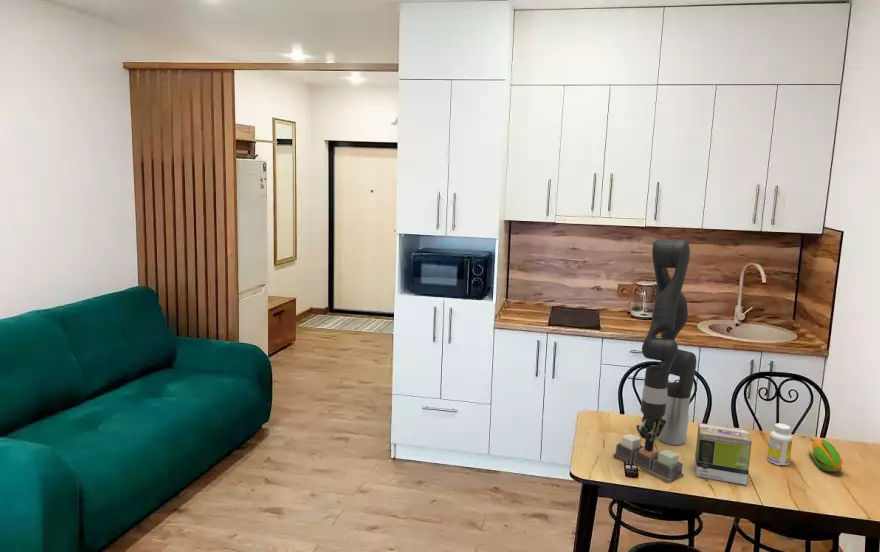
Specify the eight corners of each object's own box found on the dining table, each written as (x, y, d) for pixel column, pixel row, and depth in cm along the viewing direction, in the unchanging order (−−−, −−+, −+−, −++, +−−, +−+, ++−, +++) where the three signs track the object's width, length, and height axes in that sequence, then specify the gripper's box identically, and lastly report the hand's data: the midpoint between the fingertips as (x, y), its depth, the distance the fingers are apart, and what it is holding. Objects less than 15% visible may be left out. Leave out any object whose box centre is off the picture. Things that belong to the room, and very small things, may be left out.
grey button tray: (628, 451, 220) (629, 439, 220) (683, 476, 204) (684, 463, 203) (613, 457, 216) (614, 444, 215) (668, 483, 199) (670, 469, 198)
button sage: (665, 461, 207) (666, 449, 206) (677, 466, 203) (678, 454, 203) (657, 464, 204) (658, 452, 203) (669, 470, 201) (670, 458, 200)
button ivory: (628, 445, 218) (630, 433, 217) (639, 449, 214) (641, 438, 214) (620, 448, 215) (621, 436, 214) (631, 453, 212) (632, 441, 211)
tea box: (743, 472, 209) (749, 429, 206) (746, 486, 200) (753, 441, 197) (693, 463, 214) (698, 421, 211) (694, 476, 204) (700, 432, 202)
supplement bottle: (784, 458, 220) (789, 423, 218) (791, 467, 214) (797, 431, 212) (763, 456, 221) (768, 421, 219) (770, 465, 215) (775, 428, 213)
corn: (825, 453, 208) (804, 429, 227) (819, 474, 210) (800, 449, 229) (850, 457, 207) (827, 433, 226) (844, 479, 208) (822, 453, 227)
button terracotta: (646, 457, 212) (647, 446, 212) (657, 462, 209) (659, 451, 208) (637, 460, 210) (639, 449, 209) (649, 466, 206) (650, 454, 206)
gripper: (656, 391, 213) (651, 441, 216) (631, 399, 205) (626, 450, 208) (676, 399, 207) (670, 449, 210) (651, 406, 199) (646, 459, 202)
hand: (648, 450), depth 209 cm, fingers closed
